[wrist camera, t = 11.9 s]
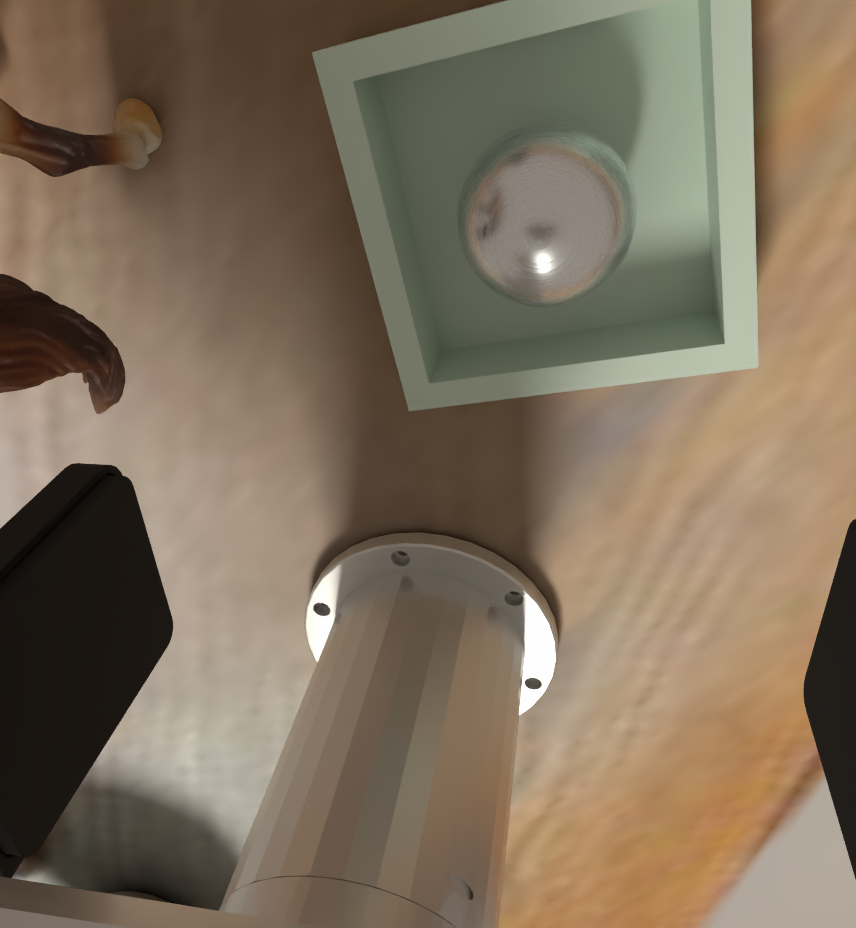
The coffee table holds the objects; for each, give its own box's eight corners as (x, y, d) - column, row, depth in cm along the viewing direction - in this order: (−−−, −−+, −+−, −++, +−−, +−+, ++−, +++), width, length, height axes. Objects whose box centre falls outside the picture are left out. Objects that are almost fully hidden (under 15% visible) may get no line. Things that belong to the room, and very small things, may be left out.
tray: (741, 326, 28) (758, 367, 25) (426, 370, 32) (408, 411, 29) (729, -60, 22) (749, -64, 20) (343, 43, 26) (311, 52, 23)
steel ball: (641, 262, 27) (648, 318, 22) (487, 287, 29) (464, 345, 24) (625, 92, 25) (629, 116, 20) (456, 129, 26) (424, 160, 21)
